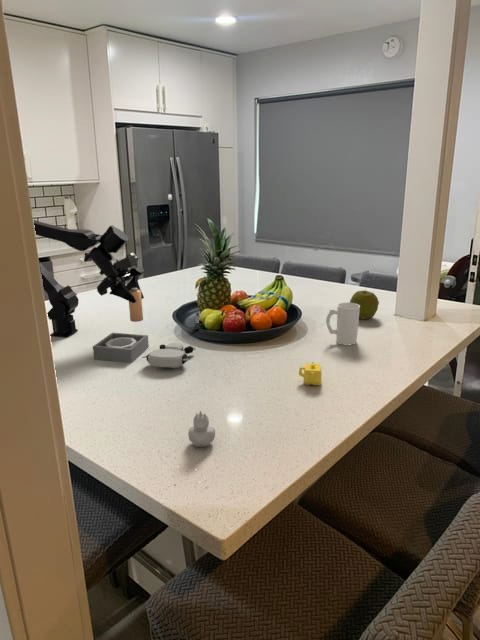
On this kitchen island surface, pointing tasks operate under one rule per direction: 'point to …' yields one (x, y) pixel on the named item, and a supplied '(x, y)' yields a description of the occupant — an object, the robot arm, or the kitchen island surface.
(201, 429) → the grey potted plant
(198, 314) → the caliper
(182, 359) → the robot toy
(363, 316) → the apple
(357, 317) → the mug
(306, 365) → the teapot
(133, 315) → the orange cylinder
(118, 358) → the housing
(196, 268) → the kitchen island surface
